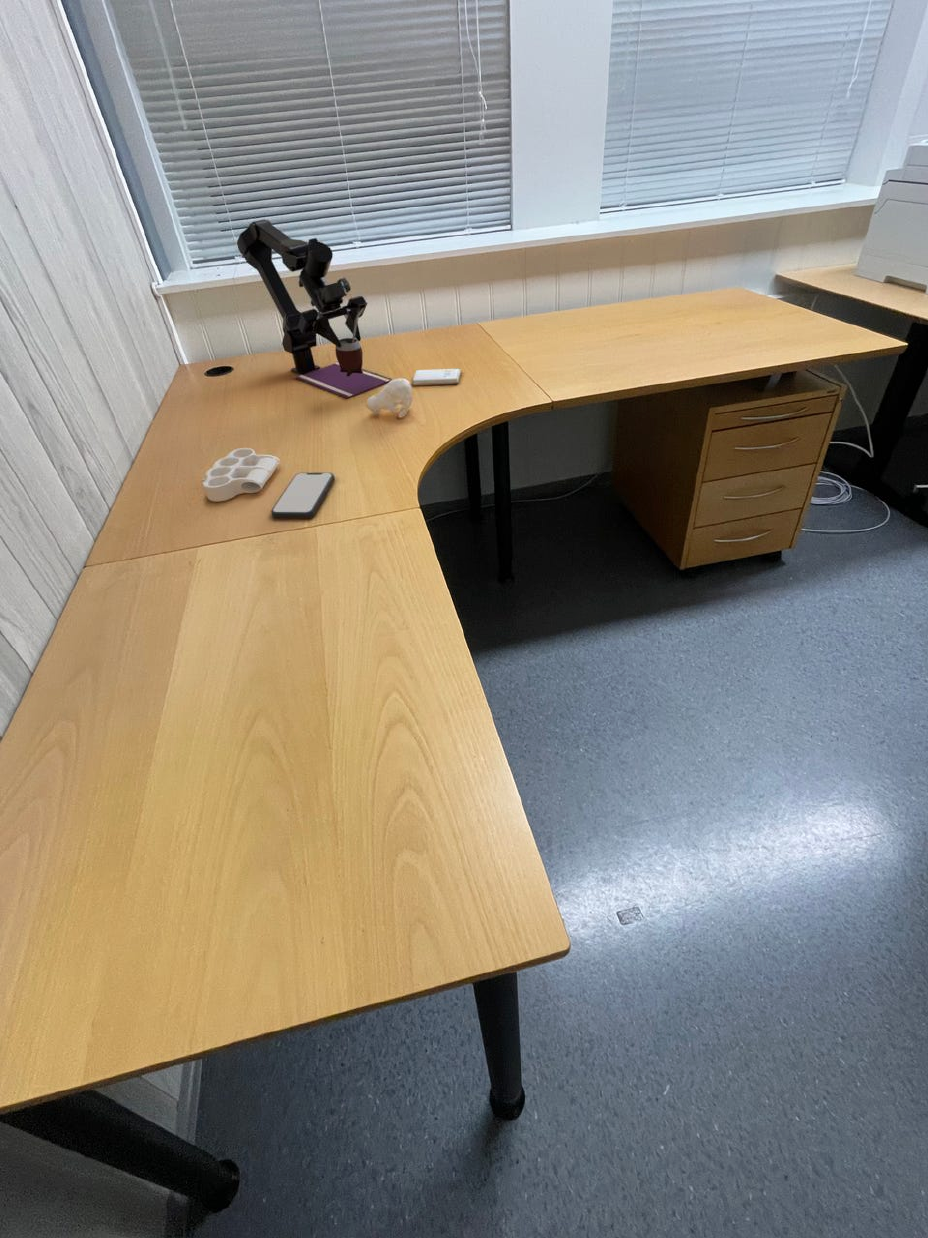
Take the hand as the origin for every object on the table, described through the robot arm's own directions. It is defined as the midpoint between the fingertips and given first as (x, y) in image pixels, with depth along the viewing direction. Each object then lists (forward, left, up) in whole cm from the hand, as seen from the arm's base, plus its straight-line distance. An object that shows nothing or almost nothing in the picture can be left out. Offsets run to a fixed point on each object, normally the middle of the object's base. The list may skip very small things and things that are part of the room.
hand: (350, 343), depth 157 cm
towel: (-12, +3, -13) cm, 18 cm away
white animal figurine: (+19, -4, -13) cm, 23 cm away
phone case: (+38, -42, -13) cm, 58 cm away
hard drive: (+11, +19, -13) cm, 26 cm away
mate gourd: (-2, 0, -8) cm, 8 cm away
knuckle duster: (+20, -47, -13) cm, 52 cm away
